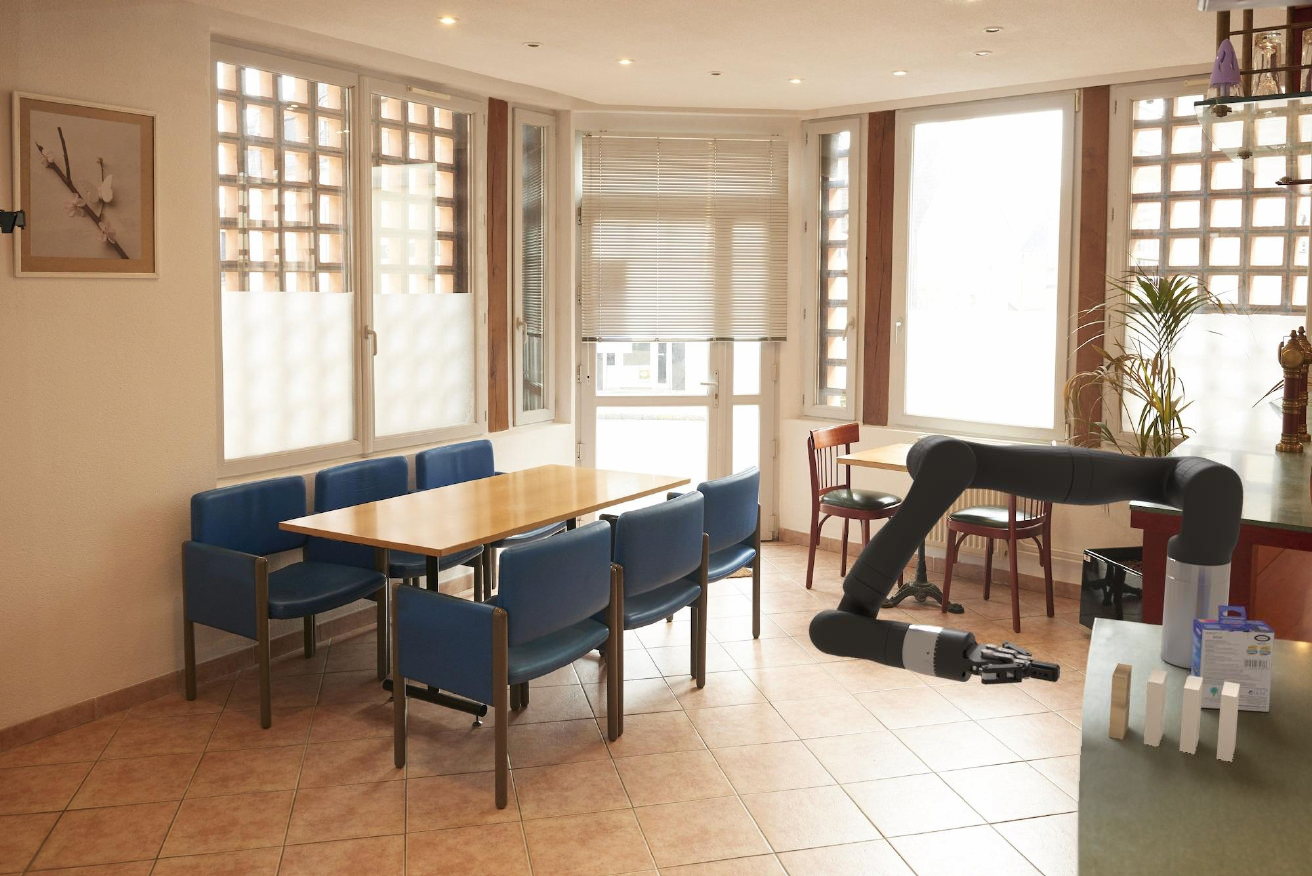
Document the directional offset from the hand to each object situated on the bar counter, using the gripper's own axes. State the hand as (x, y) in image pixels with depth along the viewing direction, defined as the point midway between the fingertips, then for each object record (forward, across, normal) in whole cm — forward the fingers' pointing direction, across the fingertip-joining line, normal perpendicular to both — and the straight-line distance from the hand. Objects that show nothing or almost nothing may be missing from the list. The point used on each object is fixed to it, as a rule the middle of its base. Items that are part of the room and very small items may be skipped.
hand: (1058, 673), depth 153 cm
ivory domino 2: (+17, 0, +7) cm, 18 cm away
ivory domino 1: (+13, 0, +7) cm, 14 cm away
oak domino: (+8, 0, +7) cm, 11 cm away
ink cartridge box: (+20, +18, +7) cm, 28 cm away
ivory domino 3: (+22, 0, +7) cm, 23 cm away
